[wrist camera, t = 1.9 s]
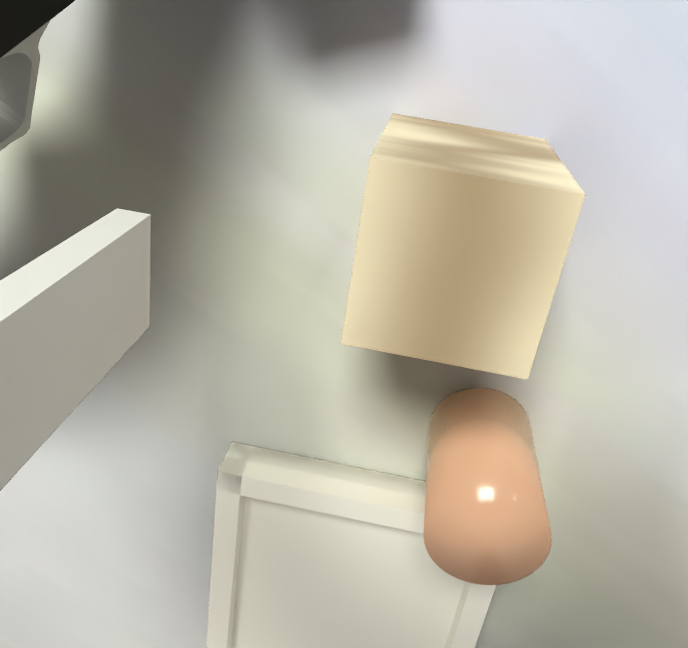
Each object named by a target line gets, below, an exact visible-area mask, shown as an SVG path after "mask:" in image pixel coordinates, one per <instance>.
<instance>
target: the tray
mask: <svg viewBox="0 0 688 648" xmlns="http://www.w3.org/2000/svg"><path fill="white" fill-rule="evenodd" d="M425 493H426V481H421V480H416V479H411V478H406V477H401V476H396V475H391V474H387V473H382V472H377V471H372V470H367V469H362V468H357V467H352V466H347V465H343V464H338V463H333V462H328V461H323V460H318V459H313V458H308V457H303V456H298V455H294V454H289V453H284V452H279V451H274V450H269V449H264V448H259V447H254V446H250V445H245V444H240V443H235V442H232V443H231V445H230V447H229V449H228V451H227V453H226V455H225V457H224V459H223V461H222V463H221V465H220V467H219V469H218V473H217V488H216V503H215V518H214V534H213V549H212V564H211V579H210V595H209V610H208V625H207V640H206V648H475V646H476V643H477V640H478V637H479V634H480V631H481V628H482V625H483V622H484V619H485V616H486V614H487V611H488V608H489V605H490V602H491V599H492V596H493V593H494V590H495V587H496V585H480V584H473V583H469V582H465V581H463V580H460V579H457V578H455V577H453V576H451V575H449V574H448V573H446V572H445V571H443V570H442V569H441V568H440V567H438V565H437V564H436V563H435V562H434V561H433V560H432V559H431V557H430V556H429V554H428V552H427V550H426V547H425V544H424V513H425Z"/></svg>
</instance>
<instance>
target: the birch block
mask: <svg viewBox="0 0 688 648" xmlns="http://www.w3.org/2000/svg"><path fill="white" fill-rule="evenodd" d="M584 197H585V193H584V192H583V191H582V189H581V188H580V187H579V185H578V184H577V182H576V181H575V180H574V178H573V177H572V175H571V174H570V173H569V171H568V170H567V168H566V167H565V166H564V164H563V163H562V161H561V160H560V159H559V157H558V156H557V154H556V153H555V152H554V150H553V149H552V147H551V146H550V145H549V143H548V142H547V140H546V139H542V138H536V137H530V136H524V135H518V134H512V133H506V132H500V131H494V130H488V129H482V128H476V127H471V126H465V125H459V124H453V123H447V122H441V121H435V120H429V119H423V118H417V117H411V116H405V115H399V114H392V116H391V118H390V120H389V122H388V124H387V126H386V128H385V129H384V131H383V133H382V135H381V137H380V139H379V141H378V143H377V145H376V147H375V149H374V151H373V153H372V155H371V156H370V161H369V167H368V174H367V180H366V186H365V193H364V199H363V205H362V212H361V218H360V225H359V231H358V237H357V244H356V250H355V257H354V263H353V269H352V276H351V282H350V289H349V295H348V301H347V308H346V314H345V321H344V327H343V333H342V340H341V344H345V345H351V346H356V347H361V348H366V349H371V350H377V351H382V352H387V353H392V354H397V355H402V356H408V357H413V358H418V359H423V360H428V361H434V362H439V363H444V364H449V365H454V366H460V367H465V368H470V369H475V370H480V371H485V372H491V373H496V374H501V375H506V376H511V377H517V378H522V379H527V380H528V377H529V374H530V370H531V367H532V364H533V361H534V358H535V354H536V351H537V348H538V345H539V342H540V338H541V335H542V332H543V329H544V326H545V322H546V319H547V316H548V313H549V310H550V306H551V303H552V300H553V297H554V293H555V290H556V287H557V284H558V281H559V277H560V274H561V271H562V268H563V265H564V261H565V258H566V255H567V252H568V249H569V245H570V242H571V239H572V236H573V232H574V229H575V226H576V223H577V220H578V216H579V213H580V210H581V207H582V204H583V200H584Z"/></svg>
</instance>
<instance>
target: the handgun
mask: <svg viewBox="0 0 688 648" xmlns="http://www.w3.org/2000/svg"><path fill="white" fill-rule="evenodd" d="M74 1H75V0H0V151H1V150H2V149H4V148H5V147H6V146H7V145H9V144H10V143H11V142H13V141H14V140H16V139H18V138H19V137H21V136H23V135H24V134H25V133H26V132H27V131H28V130H29V128H30V122H31V114H32V107H33V101H34V95H35V88H36V82H37V75H38V69H39V62H40V54H39V50H38V44H39V41H40V38H41V36H42V34H43V32H44V31H45V29H46V27H47V25H48V23H49V22H50V20H51V19H52V18H53V17H55V16H56V15H57V14H58V13H60V12H61V11H62V10H64V9H65V8H66V7H67V6H69V5H70V4H71V3H72V2H74Z"/></svg>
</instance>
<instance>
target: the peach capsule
mask: <svg viewBox="0 0 688 648" xmlns="http://www.w3.org/2000/svg"><path fill="white" fill-rule="evenodd" d="M424 544H425V547H426V550H427V552H428V554H429V556H430V557H431V559H432V560H433V561H434V562H435V563H436V564H437V565H438V567H440V568H441V569H442V570H443V571H445V572H446V573H448V574H449V575H451V576H453V577H455V578H457V579H460V580H463V581H465V582H469V583H473V584H480V585H500V584H507V583H511V582H514V581H517V580H520V579H522V578H524V577H526V576H528V575H530V574H531V573H533V572H534V571H535V570H537V569H538V568H539V567H540V566H541V565H542V564H543V562H544V561H545V559H546V558H547V556H548V554H549V551H550V548H551V531H550V526H549V520H548V515H547V510H546V505H545V499H544V494H543V489H542V484H541V478H540V473H539V468H538V463H537V458H536V452H535V447H534V442H533V437H532V431H531V426H530V422H529V418H528V416H527V414H526V412H525V410H524V409H523V407H522V406H521V405H520V404H519V403H518V402H517V401H516V400H515V399H513V398H512V397H510V396H508V395H507V394H505V393H502V392H500V391H497V390H493V389H487V388H470V389H465V390H461V391H458V392H456V393H454V394H451V395H450V396H448V397H447V398H445V399H444V400H443V401H442V402H441V403H440V404H439V405H438V406H437V407H436V408H435V410H434V411H433V413H432V415H431V418H430V422H429V432H428V452H427V473H426V493H425V513H424Z"/></svg>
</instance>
